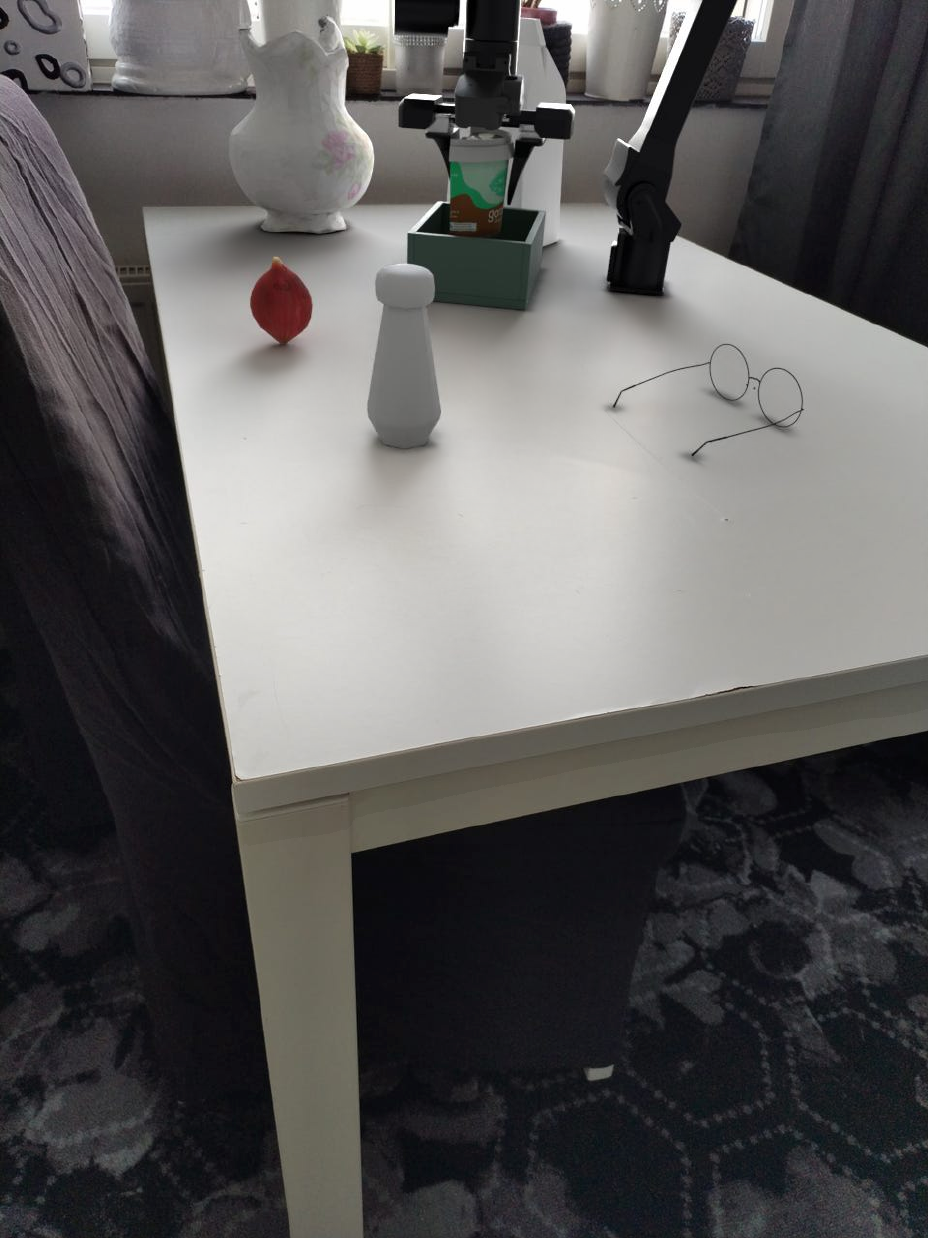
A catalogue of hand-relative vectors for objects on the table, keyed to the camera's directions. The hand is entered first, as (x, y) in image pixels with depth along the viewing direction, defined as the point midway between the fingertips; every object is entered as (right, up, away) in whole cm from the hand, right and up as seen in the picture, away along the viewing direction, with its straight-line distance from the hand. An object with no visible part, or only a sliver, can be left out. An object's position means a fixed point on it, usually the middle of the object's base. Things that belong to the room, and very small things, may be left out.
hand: (483, 202), depth 101 cm
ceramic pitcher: (-25, +9, +26) cm, 37 cm away
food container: (0, -3, +2) cm, 3 cm away
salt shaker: (-7, -33, -31) cm, 46 cm away
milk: (+3, +5, +23) cm, 24 cm away
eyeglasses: (+18, -31, -25) cm, 44 cm away
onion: (-20, -21, -15) cm, 32 cm away
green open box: (-1, -7, +5) cm, 9 cm away
